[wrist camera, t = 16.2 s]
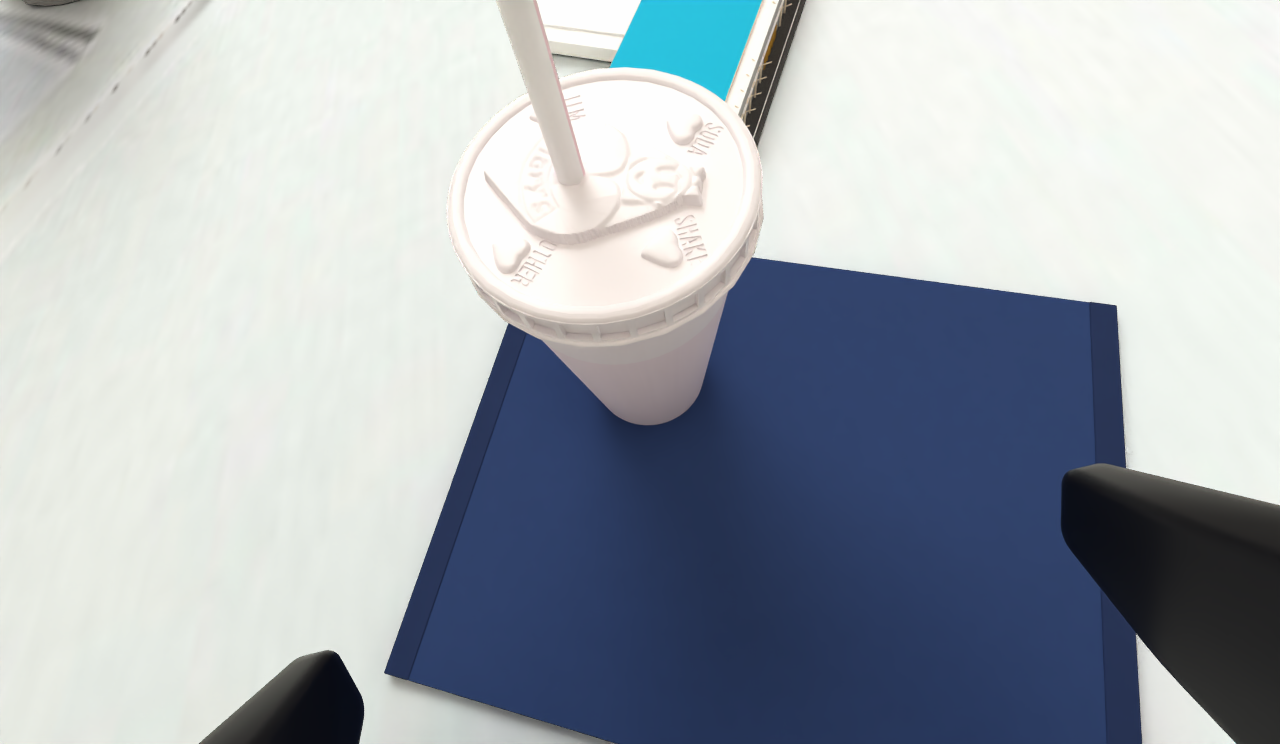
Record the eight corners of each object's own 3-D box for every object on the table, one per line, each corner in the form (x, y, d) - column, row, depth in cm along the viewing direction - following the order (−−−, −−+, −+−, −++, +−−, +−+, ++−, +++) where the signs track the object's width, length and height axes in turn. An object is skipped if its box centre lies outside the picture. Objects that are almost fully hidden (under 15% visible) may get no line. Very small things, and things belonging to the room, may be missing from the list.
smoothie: (576, 285, 22) (393, -176, 10) (752, 298, 21) (806, -200, 9) (539, 453, 20) (227, 134, 7) (735, 477, 19) (776, 153, 6)
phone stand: (608, -106, 32) (602, -143, 31) (835, -88, 30) (841, -127, 28) (446, 187, 25) (429, 159, 24) (723, 246, 23) (723, 218, 21)
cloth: (1143, 901, 14) (1152, 907, 14) (389, 672, 18) (383, 673, 18) (1110, 310, 20) (1117, 304, 20) (544, 233, 24) (541, 228, 24)
